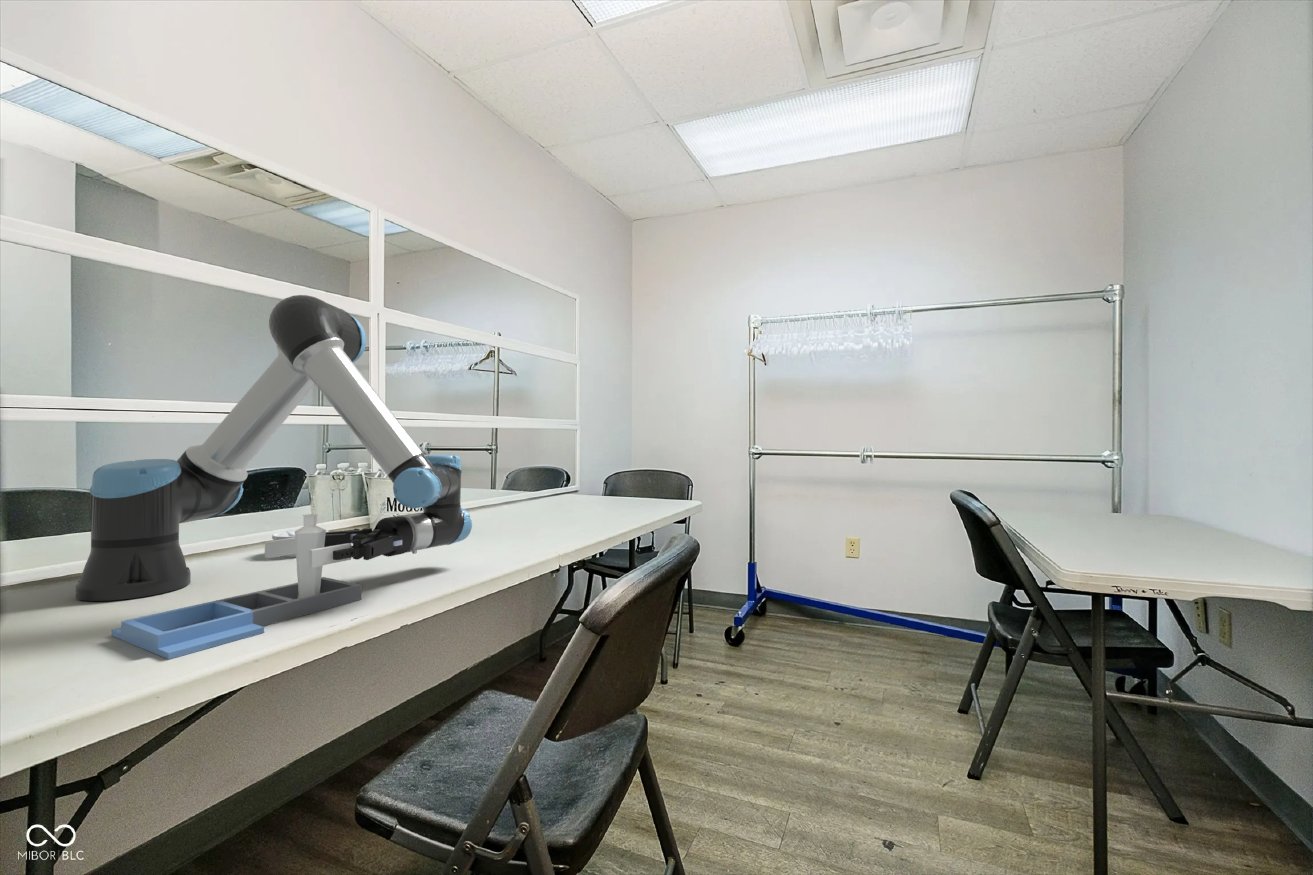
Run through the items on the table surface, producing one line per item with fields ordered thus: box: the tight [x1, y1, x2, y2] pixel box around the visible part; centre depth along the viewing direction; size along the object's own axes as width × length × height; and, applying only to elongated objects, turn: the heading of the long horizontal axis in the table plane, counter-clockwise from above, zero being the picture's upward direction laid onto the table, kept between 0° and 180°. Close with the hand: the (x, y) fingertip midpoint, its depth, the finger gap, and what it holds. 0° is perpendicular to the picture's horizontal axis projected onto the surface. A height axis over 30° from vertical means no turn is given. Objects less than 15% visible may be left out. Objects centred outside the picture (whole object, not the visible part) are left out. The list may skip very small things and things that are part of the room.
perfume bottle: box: [295, 513, 327, 599], centre depth 93 cm, size 5×4×15 cm
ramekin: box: [271, 528, 329, 559], centre depth 131 cm, size 11×11×5 cm
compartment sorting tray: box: [111, 576, 363, 660], centre depth 86 cm, size 28×17×2 cm, turn 152°
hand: (287, 554), depth 90 cm, fingers open, 12 cm apart
